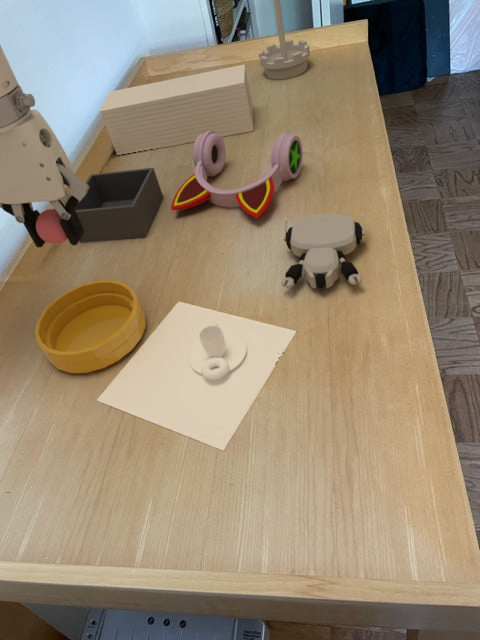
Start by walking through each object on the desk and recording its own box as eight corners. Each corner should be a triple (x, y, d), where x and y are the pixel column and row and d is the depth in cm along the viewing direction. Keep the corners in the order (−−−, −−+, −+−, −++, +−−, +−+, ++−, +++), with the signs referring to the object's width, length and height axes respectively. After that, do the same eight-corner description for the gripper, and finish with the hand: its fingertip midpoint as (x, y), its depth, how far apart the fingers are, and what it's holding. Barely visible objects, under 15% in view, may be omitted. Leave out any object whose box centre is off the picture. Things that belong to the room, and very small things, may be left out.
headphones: (301, 125, 98) (256, 170, 85) (305, 176, 104) (264, 225, 91) (209, 124, 107) (154, 165, 93) (217, 171, 113) (167, 216, 99)
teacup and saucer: (225, 389, 68) (218, 368, 65) (175, 372, 71) (166, 352, 69) (257, 341, 73) (252, 320, 70) (208, 327, 76) (201, 307, 74)
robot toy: (366, 298, 76) (364, 229, 85) (364, 275, 72) (363, 206, 82) (280, 301, 79) (288, 234, 88) (275, 279, 75) (284, 212, 85)
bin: (80, 242, 100) (65, 212, 95) (103, 203, 109) (90, 174, 104) (145, 237, 97) (133, 206, 92) (163, 197, 106) (153, 167, 101)
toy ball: (39, 251, 72) (23, 223, 69) (52, 231, 75) (38, 203, 72) (69, 250, 71) (55, 221, 68) (82, 229, 74) (69, 201, 71)
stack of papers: (253, 111, 126) (244, 64, 119) (253, 131, 119) (244, 82, 111) (125, 135, 131) (109, 91, 124) (117, 156, 124) (99, 111, 116)
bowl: (32, 376, 76) (17, 355, 73) (71, 303, 87) (59, 282, 84) (129, 375, 73) (118, 353, 70) (158, 299, 83) (149, 277, 80)
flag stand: (316, 72, 136) (302, -70, 115) (266, 85, 136) (243, -54, 116) (305, 56, 145) (290, -78, 125) (258, 68, 146) (236, -63, 125)
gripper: (72, 86, 61) (126, 220, 73) (-51, 104, 65) (19, 227, 78) (45, 116, 56) (108, 254, 68) (-87, 133, 60) (-5, 260, 72)
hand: (60, 239), depth 73 cm, fingers closed on toy ball, 4 cm apart
